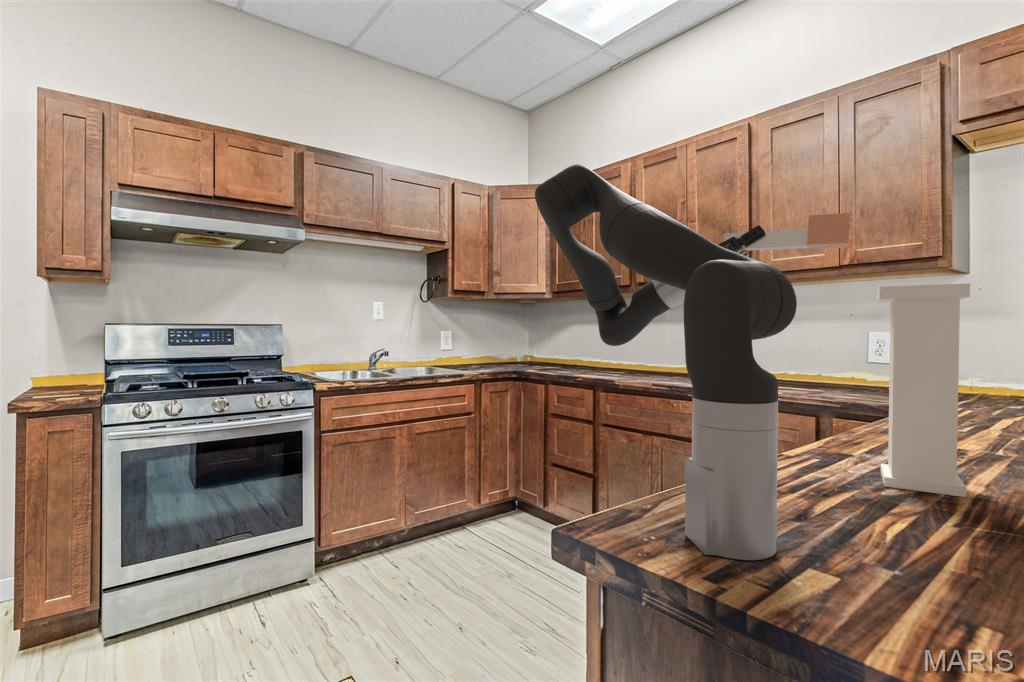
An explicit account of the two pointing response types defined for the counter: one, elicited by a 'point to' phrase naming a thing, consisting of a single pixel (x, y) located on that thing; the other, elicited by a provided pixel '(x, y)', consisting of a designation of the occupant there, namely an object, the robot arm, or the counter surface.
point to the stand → (923, 387)
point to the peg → (805, 235)
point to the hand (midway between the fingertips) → (763, 231)
